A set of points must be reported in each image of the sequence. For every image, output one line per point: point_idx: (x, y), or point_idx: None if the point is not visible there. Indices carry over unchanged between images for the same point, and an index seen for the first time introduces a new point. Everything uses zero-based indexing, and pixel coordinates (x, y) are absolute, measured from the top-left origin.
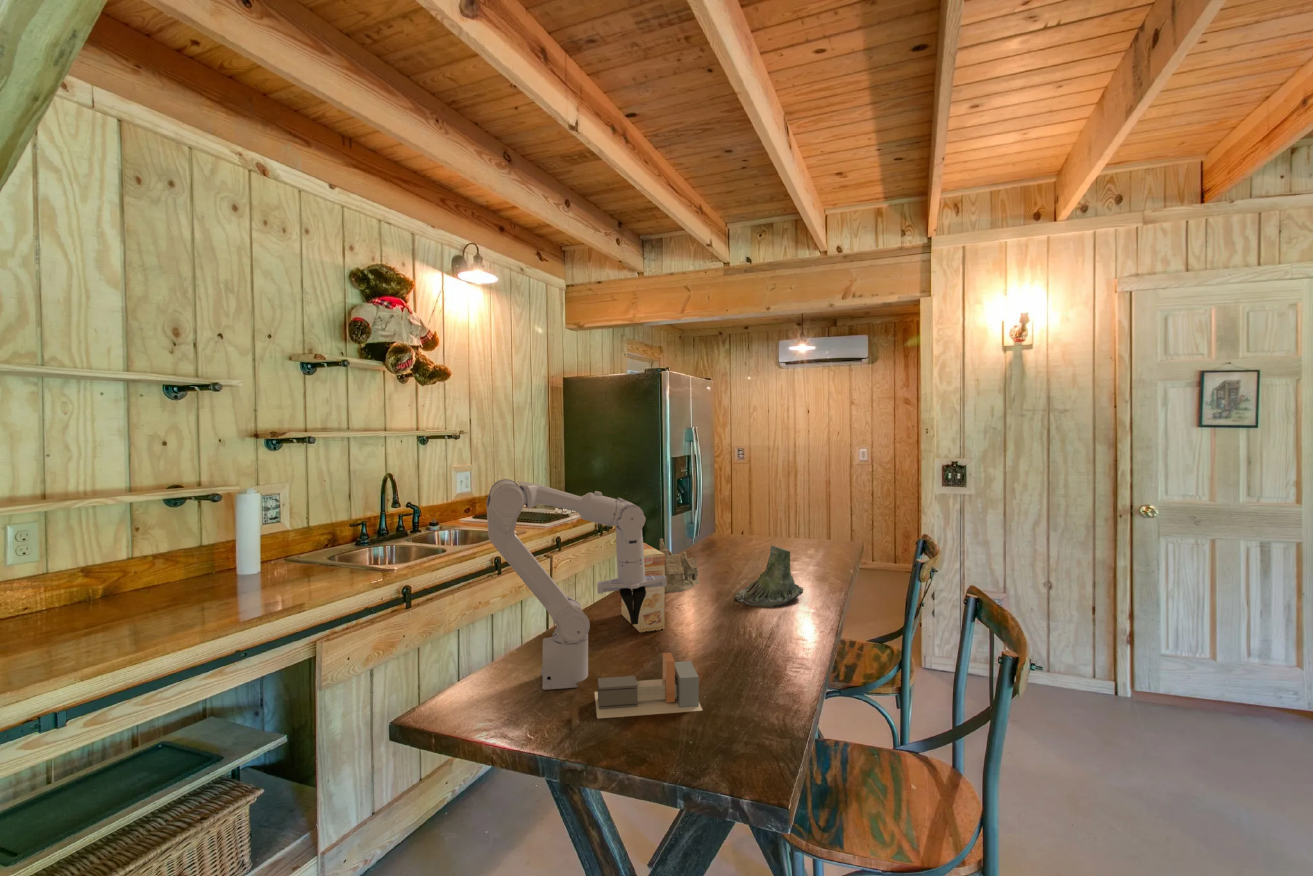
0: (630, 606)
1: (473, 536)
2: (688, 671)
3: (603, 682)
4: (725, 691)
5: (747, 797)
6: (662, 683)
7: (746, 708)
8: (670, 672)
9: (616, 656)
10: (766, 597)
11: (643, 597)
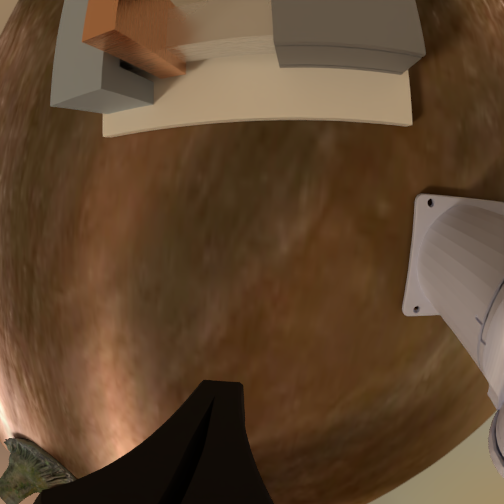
0: (221, 474)
1: None
2: (76, 22)
3: (401, 16)
4: (48, 135)
5: None
6: (175, 18)
7: (38, 64)
8: None
9: (302, 386)
10: (39, 460)
11: (63, 491)
